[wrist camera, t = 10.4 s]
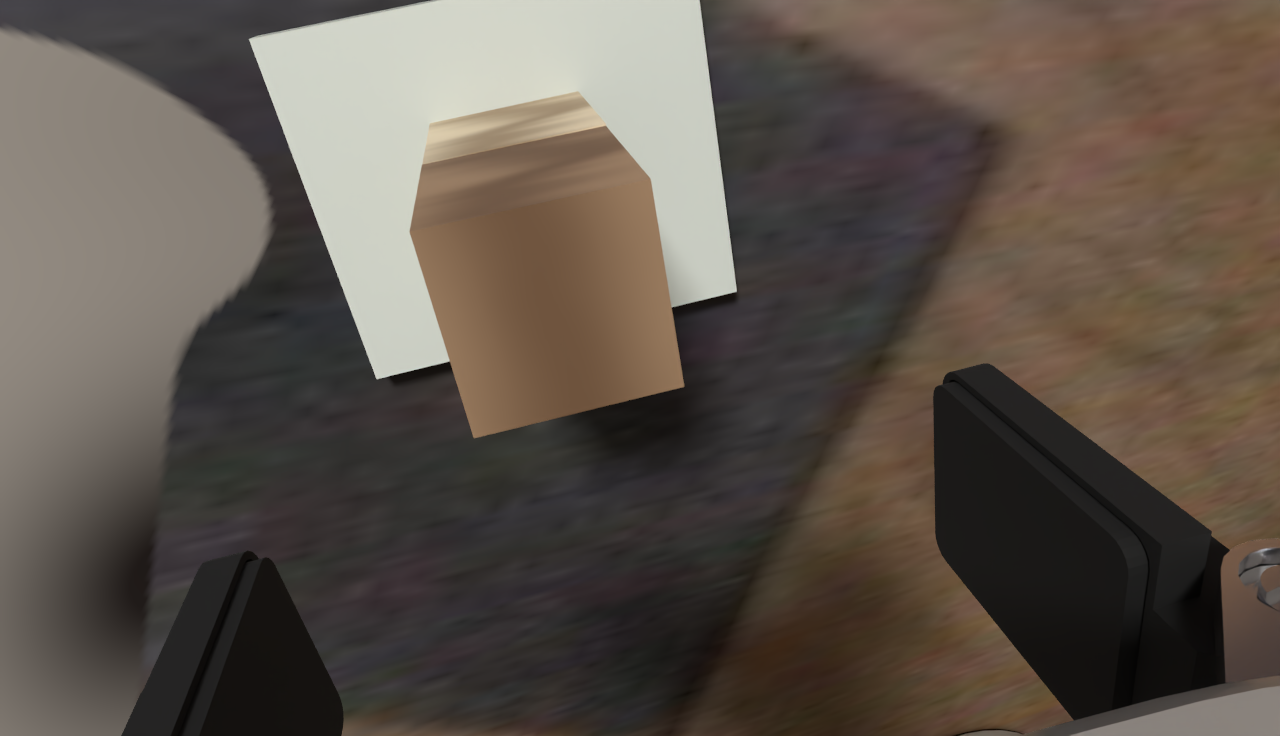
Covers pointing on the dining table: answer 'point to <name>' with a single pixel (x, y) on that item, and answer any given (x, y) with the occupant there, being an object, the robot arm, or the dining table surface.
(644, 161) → the plate
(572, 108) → the maple block
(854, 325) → the dining table surface
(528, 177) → the walnut block
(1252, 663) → the robot arm
